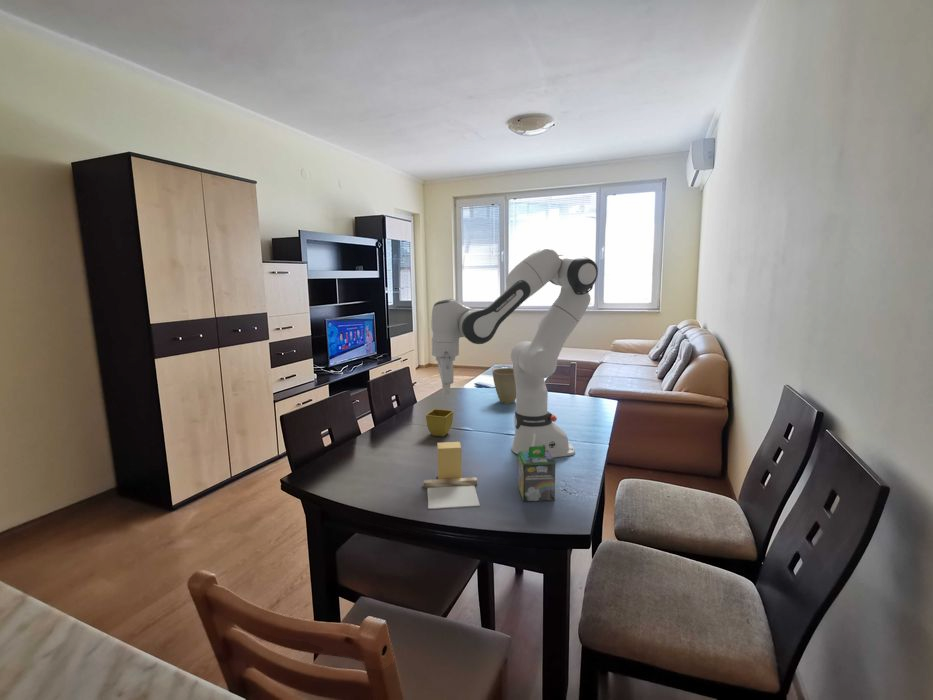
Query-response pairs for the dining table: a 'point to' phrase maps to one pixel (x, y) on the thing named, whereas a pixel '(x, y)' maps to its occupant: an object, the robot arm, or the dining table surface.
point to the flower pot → (439, 421)
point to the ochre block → (449, 460)
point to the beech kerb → (450, 482)
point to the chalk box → (536, 474)
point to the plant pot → (505, 384)
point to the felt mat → (452, 497)
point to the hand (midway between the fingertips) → (445, 391)
